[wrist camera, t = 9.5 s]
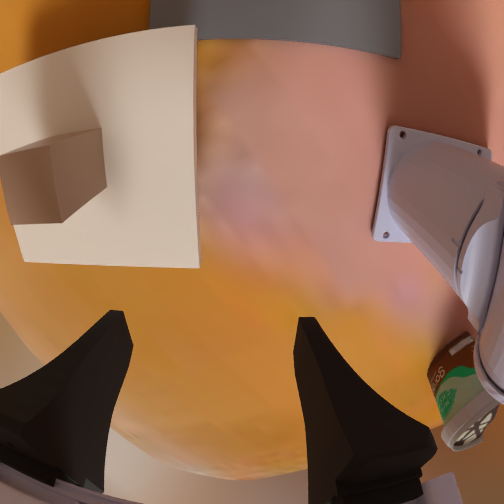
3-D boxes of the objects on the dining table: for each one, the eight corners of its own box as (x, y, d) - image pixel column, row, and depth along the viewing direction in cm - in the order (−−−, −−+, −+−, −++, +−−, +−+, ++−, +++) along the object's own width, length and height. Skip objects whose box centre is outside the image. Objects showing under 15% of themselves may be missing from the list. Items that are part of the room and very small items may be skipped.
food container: (420, 344, 26) (458, 423, 17) (468, 321, 25) (514, 391, 16) (415, 401, 32) (438, 464, 23) (455, 383, 31) (483, 442, 22)
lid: (197, 28, 11) (170, -5, 6) (201, 260, 17) (185, 324, 12) (3, 75, 11) (-59, 84, 6) (30, 255, 16) (-13, 301, 12)
